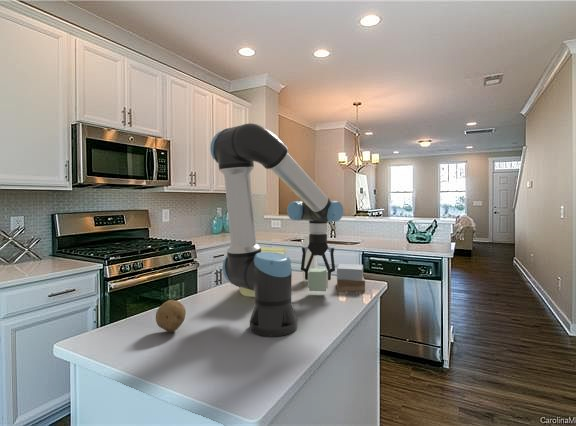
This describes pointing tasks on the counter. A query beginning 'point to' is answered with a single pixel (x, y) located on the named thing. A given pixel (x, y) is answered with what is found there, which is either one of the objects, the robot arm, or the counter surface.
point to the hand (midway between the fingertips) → (317, 287)
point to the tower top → (350, 272)
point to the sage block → (317, 279)
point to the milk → (307, 257)
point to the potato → (170, 315)
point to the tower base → (351, 285)
